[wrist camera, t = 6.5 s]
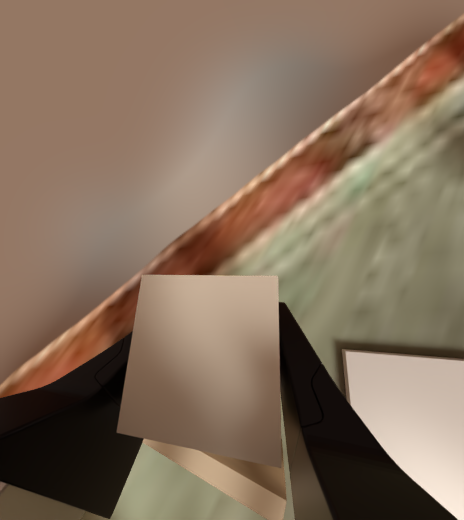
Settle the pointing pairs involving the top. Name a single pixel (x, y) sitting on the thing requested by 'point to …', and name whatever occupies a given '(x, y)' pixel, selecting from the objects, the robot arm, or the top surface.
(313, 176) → the top surface
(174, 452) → the birch partition
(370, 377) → the pad
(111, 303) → the top surface
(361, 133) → the top surface
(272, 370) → the plain beige block
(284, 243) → the top surface
